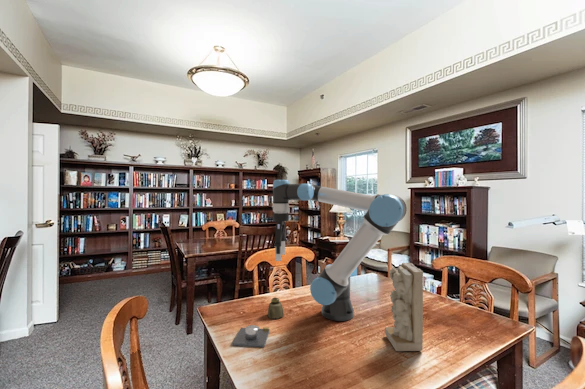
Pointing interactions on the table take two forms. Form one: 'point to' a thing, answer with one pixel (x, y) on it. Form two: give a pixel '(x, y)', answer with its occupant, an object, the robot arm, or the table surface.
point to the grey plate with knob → (251, 336)
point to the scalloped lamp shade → (275, 309)
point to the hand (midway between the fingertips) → (280, 257)
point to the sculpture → (406, 308)
